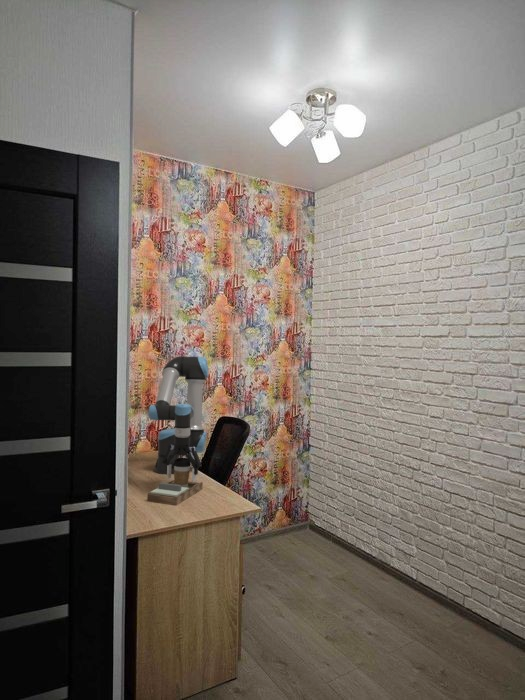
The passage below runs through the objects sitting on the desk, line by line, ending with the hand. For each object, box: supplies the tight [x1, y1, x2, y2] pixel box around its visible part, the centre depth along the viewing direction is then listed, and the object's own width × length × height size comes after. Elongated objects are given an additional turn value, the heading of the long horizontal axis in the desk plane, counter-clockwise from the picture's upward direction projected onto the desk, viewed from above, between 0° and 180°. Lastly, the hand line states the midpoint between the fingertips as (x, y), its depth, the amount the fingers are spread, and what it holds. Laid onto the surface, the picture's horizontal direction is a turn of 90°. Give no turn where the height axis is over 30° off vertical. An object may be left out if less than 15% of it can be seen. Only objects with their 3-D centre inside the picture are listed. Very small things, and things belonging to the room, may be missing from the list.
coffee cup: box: [173, 457, 192, 488], centre depth 234 cm, size 8×8×15 cm
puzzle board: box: [146, 479, 204, 506], centre depth 229 cm, size 26×15×4 cm, turn 161°
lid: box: [150, 482, 189, 497], centre depth 223 cm, size 12×13×3 cm
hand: (181, 479), depth 234 cm, fingers open, 13 cm apart
